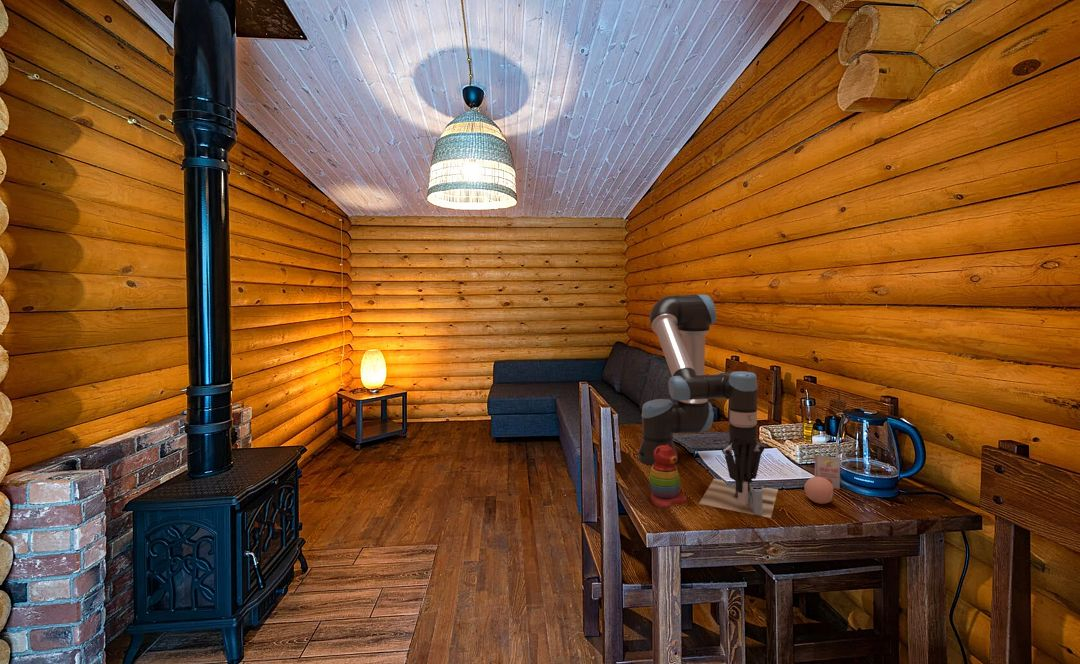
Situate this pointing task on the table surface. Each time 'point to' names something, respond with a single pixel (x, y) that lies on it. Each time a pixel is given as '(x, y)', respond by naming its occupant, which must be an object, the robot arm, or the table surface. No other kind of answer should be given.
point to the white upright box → (828, 469)
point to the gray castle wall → (755, 500)
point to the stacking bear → (665, 478)
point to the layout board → (736, 498)
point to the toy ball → (819, 490)
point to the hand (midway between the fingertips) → (742, 502)
